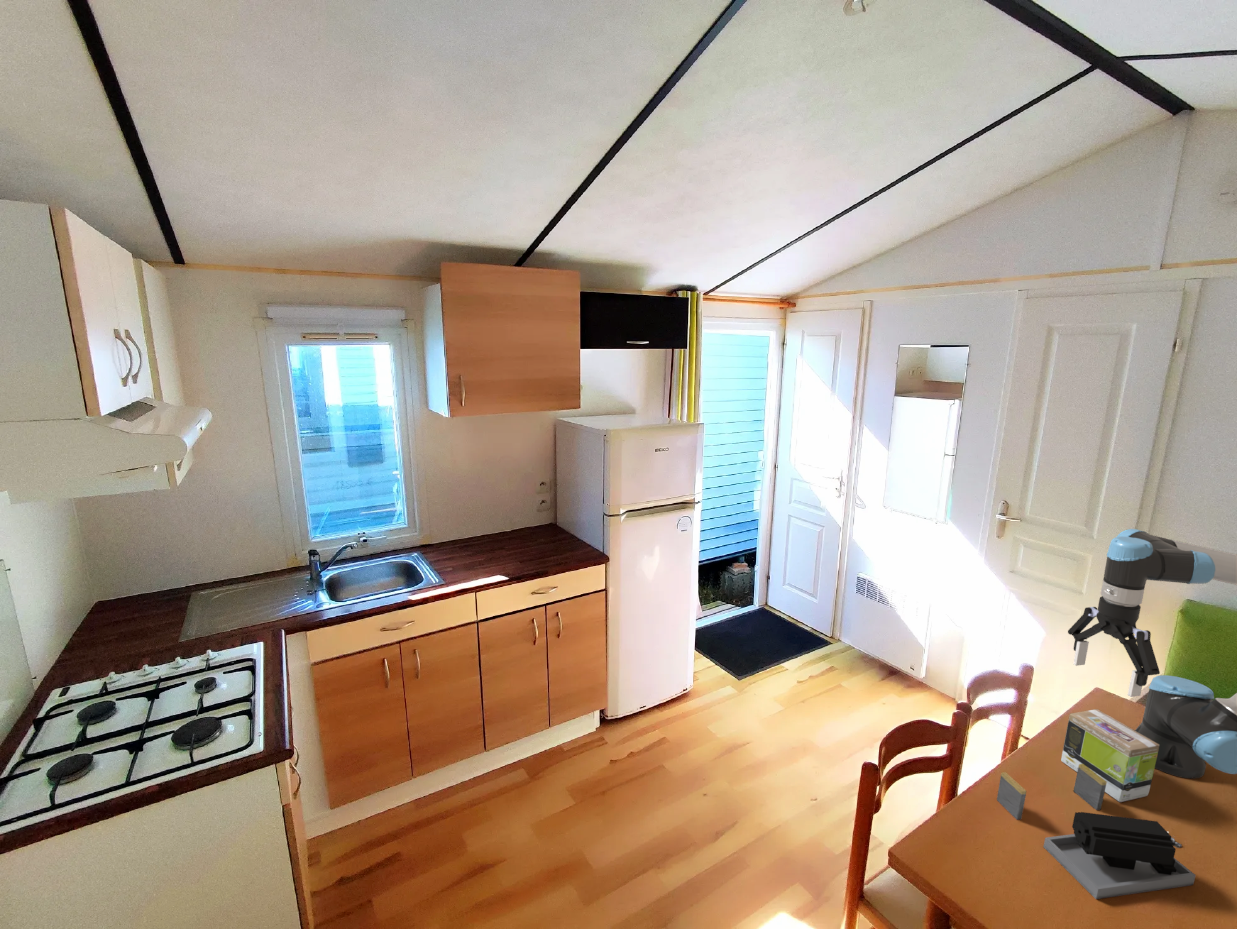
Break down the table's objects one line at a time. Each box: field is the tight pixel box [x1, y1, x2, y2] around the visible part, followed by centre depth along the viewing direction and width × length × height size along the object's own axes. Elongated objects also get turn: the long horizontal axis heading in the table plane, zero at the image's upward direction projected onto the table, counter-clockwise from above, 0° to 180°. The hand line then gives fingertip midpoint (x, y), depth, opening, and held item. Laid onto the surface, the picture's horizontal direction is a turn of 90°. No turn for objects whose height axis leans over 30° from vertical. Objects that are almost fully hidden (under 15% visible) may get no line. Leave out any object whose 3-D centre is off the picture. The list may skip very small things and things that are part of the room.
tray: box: [1043, 833, 1196, 900], centre depth 121 cm, size 23×12×2 cm, turn 98°
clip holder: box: [996, 764, 1107, 821], centre depth 136 cm, size 23×6×8 cm, turn 98°
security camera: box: [1071, 811, 1177, 875], centre depth 120 cm, size 7×18×10 cm, turn 81°
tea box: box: [1060, 708, 1159, 803], centre depth 144 cm, size 15×10×15 cm, turn 14°
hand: (1105, 679), depth 140 cm, fingers open, 13 cm apart
